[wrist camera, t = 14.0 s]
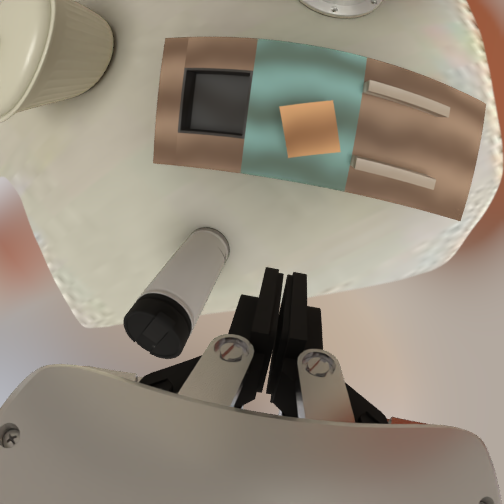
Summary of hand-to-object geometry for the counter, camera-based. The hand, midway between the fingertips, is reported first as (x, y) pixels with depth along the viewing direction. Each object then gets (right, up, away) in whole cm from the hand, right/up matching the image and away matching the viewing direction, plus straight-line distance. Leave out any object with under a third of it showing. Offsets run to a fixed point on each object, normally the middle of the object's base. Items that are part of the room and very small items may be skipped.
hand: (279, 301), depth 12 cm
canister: (-26, +32, +20) cm, 46 cm away
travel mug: (-7, +3, +31) cm, 31 cm away
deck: (+7, +18, +20) cm, 28 cm away
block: (+5, +15, +18) cm, 24 cm away
